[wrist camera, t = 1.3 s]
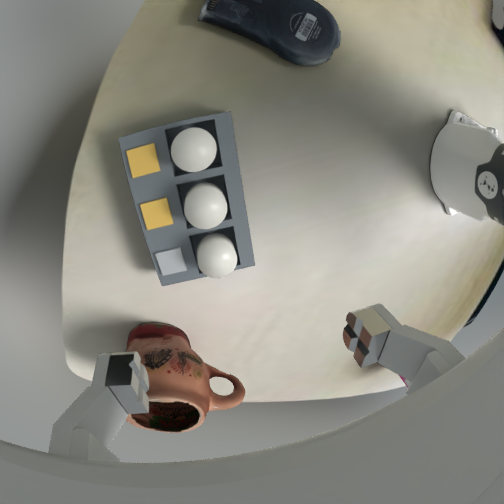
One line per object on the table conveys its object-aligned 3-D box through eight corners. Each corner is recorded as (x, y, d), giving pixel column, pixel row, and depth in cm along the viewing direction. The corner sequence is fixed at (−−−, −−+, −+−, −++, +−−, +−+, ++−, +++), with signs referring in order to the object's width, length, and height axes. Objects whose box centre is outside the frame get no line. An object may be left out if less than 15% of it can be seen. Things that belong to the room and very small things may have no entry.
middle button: (220, 178, 26) (223, 183, 24) (227, 215, 28) (230, 224, 26) (180, 187, 26) (179, 193, 23) (189, 224, 28) (189, 233, 25)
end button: (210, 123, 23) (212, 123, 21) (217, 163, 25) (220, 167, 23) (169, 132, 23) (166, 133, 21) (177, 172, 25) (176, 176, 23)
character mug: (237, 310, 38) (258, 390, 26) (232, 365, 44) (248, 435, 31) (100, 311, 34) (76, 388, 22) (117, 365, 39) (108, 435, 27)
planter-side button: (230, 229, 29) (233, 239, 27) (236, 261, 31) (240, 273, 29) (193, 237, 28) (193, 248, 26) (201, 269, 30) (202, 281, 28)
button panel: (226, 112, 26) (230, 111, 23) (249, 251, 34) (255, 266, 31) (126, 136, 25) (117, 138, 22) (164, 270, 33) (161, 287, 30)
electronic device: (194, 36, 23) (321, 81, 26) (191, 12, 17) (341, 66, 20) (227, -15, 20) (341, 28, 24) (229, -40, 15) (361, 9, 18)
